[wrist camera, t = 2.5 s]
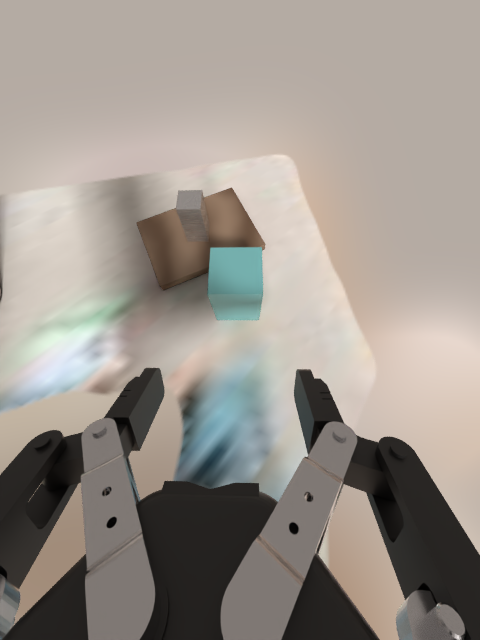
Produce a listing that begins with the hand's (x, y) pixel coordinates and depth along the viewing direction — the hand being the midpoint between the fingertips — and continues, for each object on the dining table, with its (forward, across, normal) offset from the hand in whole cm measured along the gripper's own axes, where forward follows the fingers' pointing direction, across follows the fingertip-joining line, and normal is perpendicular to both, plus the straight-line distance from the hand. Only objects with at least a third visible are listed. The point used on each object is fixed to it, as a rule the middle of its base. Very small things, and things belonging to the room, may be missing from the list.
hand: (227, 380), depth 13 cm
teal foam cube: (+19, 0, +2) cm, 19 cm away
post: (+25, +6, -6) cm, 27 cm away
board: (+26, +6, -5) cm, 27 cm away
